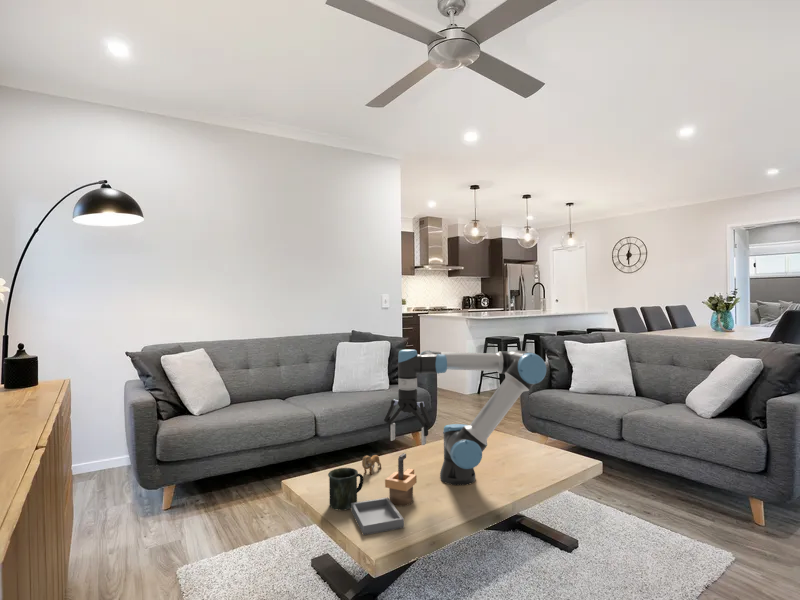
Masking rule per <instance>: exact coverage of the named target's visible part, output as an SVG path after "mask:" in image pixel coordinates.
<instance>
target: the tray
mask: <svg viewBox="0 0 800 600" xmlns="http://www.w3.org/2000/svg"><path fill="white" fill-rule="evenodd" d="M350 512H351V514H352V516H353V517H354V520H355V519H356V520H355V522H356V521H357V522H356V524H357V523H358V524H357V526H358V525H359V526H358V528H359V527H360V528H359V530H360V529H361V530H360V532H361V531H362V532H361V533H363V534H362V535H363V536H367V535H368V536H369V535H372V534H378V533H382V532H389V531H394V530H400V529H404V528H405V519H404V517H403V515H402V514H401V513H400V512H399V510H398V509H397V508H396V505H393V504H392V502H391V501H390V499H389V497H381V498H375V499H370V500H363V501H357V502H355V503H351V509H350Z"/></svg>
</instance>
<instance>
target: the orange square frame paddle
mask: <svg viewBox="0 0 800 600" xmlns="http://www.w3.org/2000/svg"><path fill="white" fill-rule="evenodd" d="M417 482H418V481H417V474H415V468H407V469H406V470H404V481H403V480H398V471H394V472H393V473H392V474H390V475H389V476H387V477H386V478H385V479H384V488H388V489H389V488H391V489H396V490H402V491H408V490H409V489H410V488H411V487H412V486H413V487H414V486H415V485H416V484H417Z"/></svg>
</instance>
